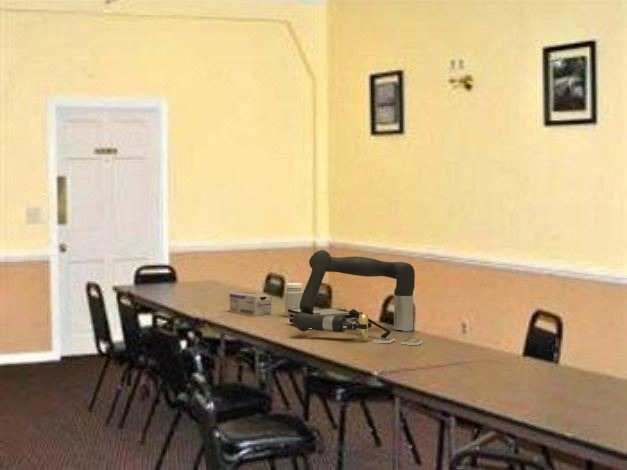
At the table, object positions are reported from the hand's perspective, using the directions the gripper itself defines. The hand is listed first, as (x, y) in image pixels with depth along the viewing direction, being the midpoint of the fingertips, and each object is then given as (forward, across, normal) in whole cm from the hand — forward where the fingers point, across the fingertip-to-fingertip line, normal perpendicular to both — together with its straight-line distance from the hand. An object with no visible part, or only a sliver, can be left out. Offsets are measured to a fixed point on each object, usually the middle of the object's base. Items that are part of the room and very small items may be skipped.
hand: (368, 326), depth 443 cm
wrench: (-4, +13, +2) cm, 14 cm away
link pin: (-3, 0, +7) cm, 7 cm away
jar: (-65, +61, +7) cm, 89 cm away
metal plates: (+14, 0, +7) cm, 16 cm away
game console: (-38, +40, +8) cm, 55 cm away
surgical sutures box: (-92, +64, +7) cm, 113 cm away
